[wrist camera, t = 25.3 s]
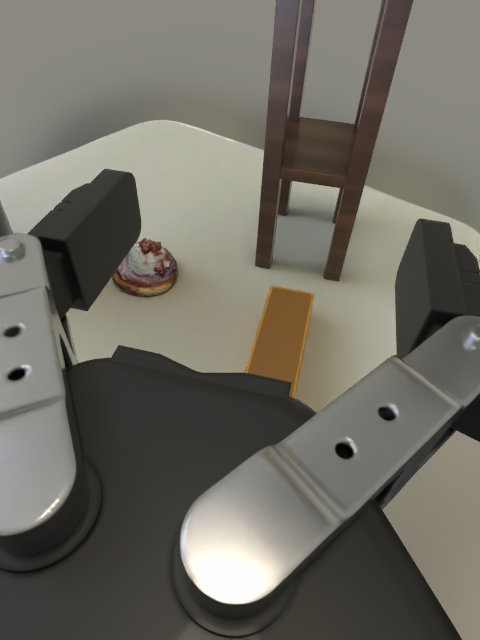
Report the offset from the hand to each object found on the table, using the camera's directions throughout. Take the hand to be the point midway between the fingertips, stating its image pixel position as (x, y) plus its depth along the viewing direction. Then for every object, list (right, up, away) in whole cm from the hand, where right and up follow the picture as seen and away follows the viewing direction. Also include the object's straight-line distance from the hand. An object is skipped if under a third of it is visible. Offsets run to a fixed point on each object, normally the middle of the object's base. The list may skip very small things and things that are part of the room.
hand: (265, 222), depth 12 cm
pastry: (-12, +2, +37) cm, 39 cm away
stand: (+8, +7, +43) cm, 44 cm away
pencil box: (+2, -9, +26) cm, 28 cm away
